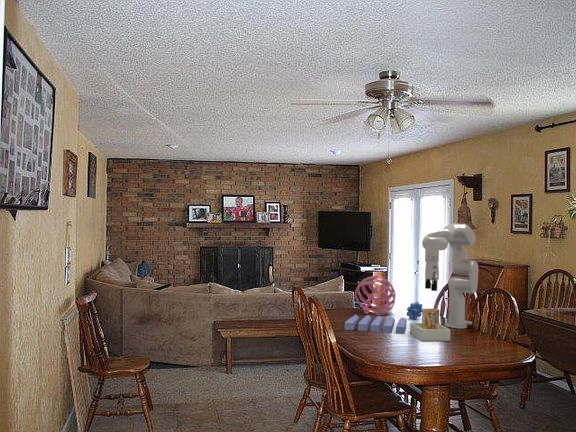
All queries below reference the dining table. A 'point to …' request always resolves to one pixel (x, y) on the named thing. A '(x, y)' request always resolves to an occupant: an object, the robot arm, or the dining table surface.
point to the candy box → (430, 318)
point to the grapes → (414, 310)
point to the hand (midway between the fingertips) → (431, 289)
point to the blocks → (376, 324)
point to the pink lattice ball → (371, 297)
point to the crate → (429, 333)
